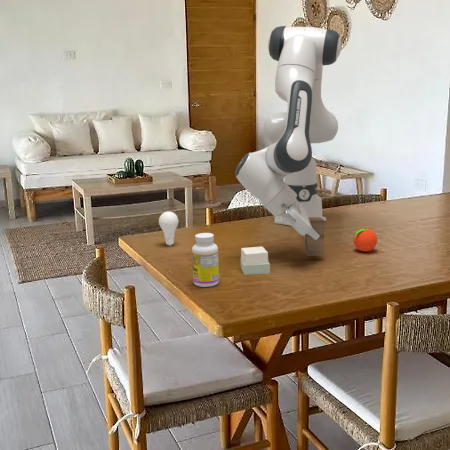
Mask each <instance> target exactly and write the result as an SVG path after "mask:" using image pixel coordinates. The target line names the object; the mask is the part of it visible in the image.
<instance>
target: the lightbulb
mask: <svg viewBox="0 0 450 450" xmlns="http://www.w3.org/2000/svg"><path fill="white" fill-rule="evenodd" d="M158 218H159V219H158V225H159V226H160V228H161V230H162V231H163V235H164V239H165V245H167V246H169V247H170V246H172V245H174V243H175V232H176V229H177V227H178V225H179V218H178V215H177V214H176V213H175V212H173V211H165V212H163V213H161V215H160V216H159V217H158Z"/></svg>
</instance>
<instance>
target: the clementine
mask: <svg viewBox="0 0 450 450" xmlns="http://www.w3.org/2000/svg"><path fill="white" fill-rule="evenodd" d="M352 238H353V239H352V241H353V245H354V246H355V248H356V249H357V250H358V251H360V252H365V253H367V252H371V251H372V250H373V249H375V248H376V246H377V244H378V236H377V234H376V232H375V231H374V230H372V229H370V228H367V227H365V228H364V227H363V228H360V229H359V230H357V231H356V232H355V234H354V235H353V237H352Z"/></svg>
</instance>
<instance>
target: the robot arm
mask: <svg viewBox="0 0 450 450" xmlns="http://www.w3.org/2000/svg"><path fill="white" fill-rule="evenodd" d="M340 36H341V35H340V34H339V33H338V31H336V30H334V29H330V28H327V29H325V28H320V27H313V26H307V25H306V26H287V25H283V26H282V25H281V26H276V27H274V29H273V30H272V31H271V33H270V35H269V37H268V41H267V49H268V54H269V56H270V57H271V59H273V60H274V61H276V62H277V67H276V72H275V73H276V74H275V78H274V79H275V80H274V89H275V90H274V91H275V93H276V95H277V96H278V97H279V98H280V99H281V100H282V101H284V102H286V103H287V111H286V112H285V111H284V112H277V113H274V114H271V115H268V116H267V118H266V119H265V121H264V123H263V131H262V132H263V135H264V137H265V139H266V140H267V141H268V143H270V145H269V146H267V147H264V148H262V149H260V150H257V151H254V152H248V153H246V154H245V155H244V156H243V157H242V158H241V159H240V161H239V162H238V164H237V166H236V168H235V171H234V174H235V178H236V179H237V180H238V183H240V184H241V185H242V186H243V187H244V189H246V190H247V192H248V193H250V195H251V196H253V197H254V198H256V199H258V201H260V203H261V205H262V206H263V207H264V208H265V209H266V210H267V211H268V212H269V213H271V214H272V216H273V217H274V222H273V223H274V224H279V225H285V226H290V227H292V228H293V229H294V230H295V231H296V232H297V233H298V234H299V235H300V236H302V237H305V235H306V234H308V235H310V236H311V237H312V238H313V239H314V240H317V239H318V238H319V237H320V236H319V234H318V233H317V232H316V231H315V230H314V229H313V228H312V226H311V224H310V221H309V218H308V217H321V218H322V219H323V220H324V222H326V221H327V217H325V216H323V203H322V198H321V197H320V196H319V195H318V193H319V192H318V190H319V186H318V182H317V162H316V161H317V160H315V158H313V149H312V144H322V143H327V142H330V141H332V140H334V139H335V137H336V136H337V133H338V131H339V122H338V120H337V118H336V116H335V115H334V114H333V113H332V112H330V110H328V109H327V107H326V106H325V104H324V103H323V102H324V101H323V99H322V83H323V81H322V79H323V69H324V68H323V66H330V65H333V64H334V63H336V62H337V60H338V58H339V56H340V54H341V51H342V41H341V38H340Z"/></svg>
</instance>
